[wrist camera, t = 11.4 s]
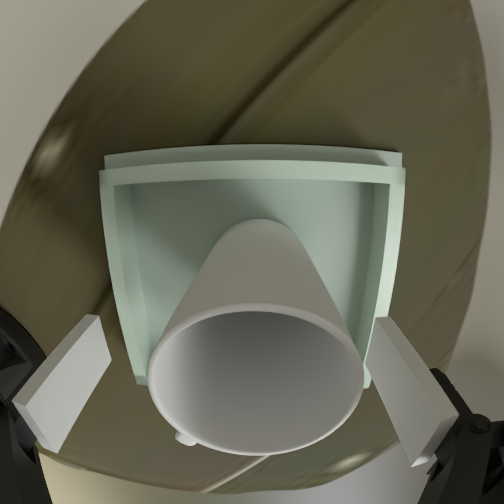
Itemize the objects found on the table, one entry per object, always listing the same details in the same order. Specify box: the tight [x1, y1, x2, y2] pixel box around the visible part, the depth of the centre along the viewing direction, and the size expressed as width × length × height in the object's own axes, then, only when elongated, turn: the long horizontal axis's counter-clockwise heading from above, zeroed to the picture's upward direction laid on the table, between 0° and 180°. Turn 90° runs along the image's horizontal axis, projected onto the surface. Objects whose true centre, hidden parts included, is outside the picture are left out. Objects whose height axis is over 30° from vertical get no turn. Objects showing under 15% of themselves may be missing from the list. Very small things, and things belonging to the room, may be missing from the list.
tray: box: [99, 144, 406, 388], centre depth 19 cm, size 20×18×3 cm
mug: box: [147, 219, 364, 455], centre depth 14 cm, size 10×7×12 cm, turn 145°
